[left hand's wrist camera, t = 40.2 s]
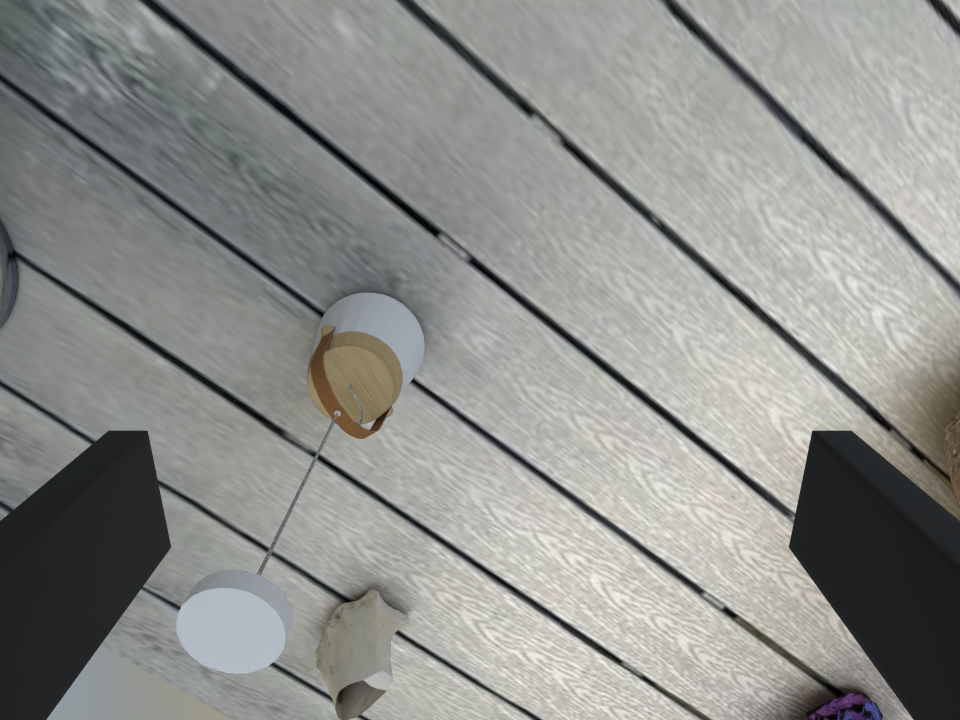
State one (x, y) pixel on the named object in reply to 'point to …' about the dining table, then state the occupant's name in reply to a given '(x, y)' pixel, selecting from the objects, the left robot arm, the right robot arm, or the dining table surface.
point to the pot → (953, 453)
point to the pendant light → (349, 403)
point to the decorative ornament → (847, 709)
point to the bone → (358, 653)
